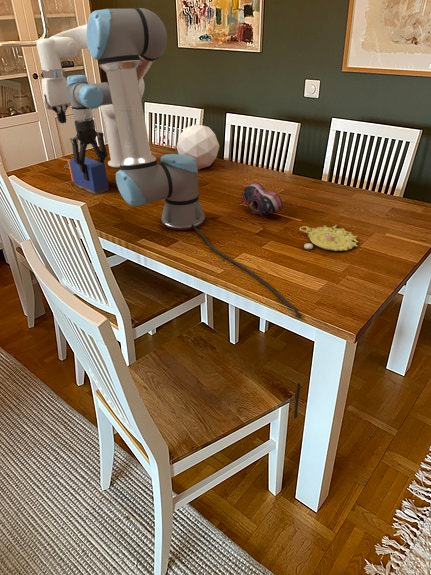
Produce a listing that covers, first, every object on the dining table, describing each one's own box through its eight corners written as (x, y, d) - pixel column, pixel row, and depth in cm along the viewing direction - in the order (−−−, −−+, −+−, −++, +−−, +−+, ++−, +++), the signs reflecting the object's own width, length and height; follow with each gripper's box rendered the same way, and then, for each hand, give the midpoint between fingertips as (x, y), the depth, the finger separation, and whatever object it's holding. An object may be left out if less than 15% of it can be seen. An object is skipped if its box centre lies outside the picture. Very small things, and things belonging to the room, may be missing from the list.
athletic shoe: (254, 181, 170) (227, 189, 167) (283, 176, 151) (253, 185, 147) (260, 210, 173) (234, 218, 170) (290, 209, 154) (261, 219, 150)
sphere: (204, 184, 208) (201, 158, 189) (171, 163, 213) (165, 136, 194) (227, 156, 213) (227, 128, 194) (194, 137, 217) (191, 107, 199)
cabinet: (74, 185, 192) (69, 159, 186) (87, 181, 196) (83, 156, 190) (95, 194, 182) (90, 167, 176) (109, 190, 185) (104, 163, 179)
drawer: (65, 178, 198) (60, 157, 193) (76, 175, 201) (72, 154, 196) (91, 189, 184) (86, 167, 179) (102, 186, 187) (98, 164, 182)
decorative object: (343, 255, 128) (285, 234, 139) (342, 262, 130) (284, 241, 140) (372, 230, 142) (317, 213, 152) (371, 237, 143) (316, 219, 153)
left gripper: (65, 71, 181) (74, 118, 191) (30, 75, 173) (41, 124, 183) (74, 72, 177) (83, 120, 187) (39, 77, 168) (50, 127, 178)
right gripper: (100, 114, 179) (109, 170, 191) (56, 122, 168) (68, 181, 180) (110, 116, 174) (119, 173, 187) (65, 125, 163) (77, 185, 175)
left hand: (62, 122), depth 185 cm, fingers closed
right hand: (94, 177), depth 183 cm, fingers closed on cabinet, 7 cm apart
